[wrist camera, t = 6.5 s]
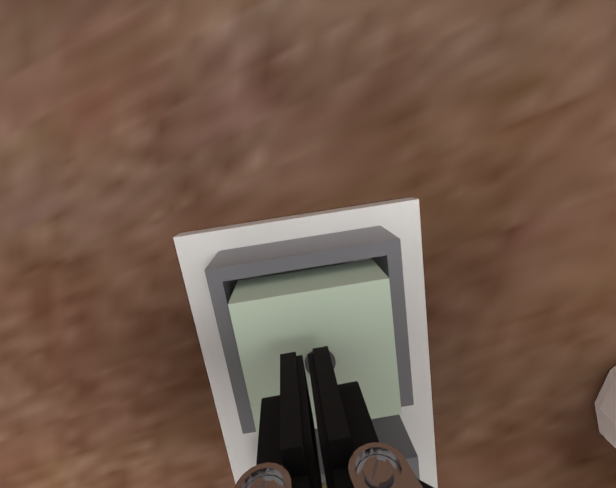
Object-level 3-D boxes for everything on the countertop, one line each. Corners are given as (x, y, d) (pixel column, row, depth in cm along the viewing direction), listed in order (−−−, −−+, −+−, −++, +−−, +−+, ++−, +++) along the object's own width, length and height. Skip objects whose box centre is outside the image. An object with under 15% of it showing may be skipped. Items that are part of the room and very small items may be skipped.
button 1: (372, 259, 15) (389, 278, 12) (384, 376, 16) (402, 415, 14) (237, 280, 15) (227, 305, 12) (262, 397, 16) (257, 440, 14)
